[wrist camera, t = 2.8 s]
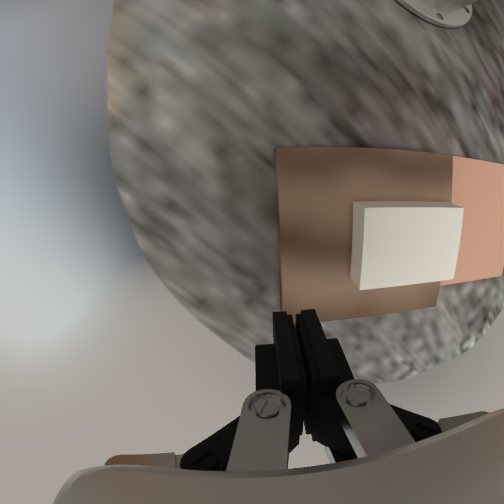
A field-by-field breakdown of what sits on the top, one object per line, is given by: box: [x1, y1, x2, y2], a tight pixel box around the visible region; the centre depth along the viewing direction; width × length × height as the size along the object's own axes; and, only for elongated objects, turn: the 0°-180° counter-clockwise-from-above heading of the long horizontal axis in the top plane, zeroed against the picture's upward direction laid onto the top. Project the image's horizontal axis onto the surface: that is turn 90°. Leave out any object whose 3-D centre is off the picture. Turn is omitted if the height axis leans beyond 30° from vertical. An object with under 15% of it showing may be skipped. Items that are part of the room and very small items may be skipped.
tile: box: [350, 201, 464, 290], centre depth 20 cm, size 6×9×2 cm, turn 94°
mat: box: [440, 156, 504, 286], centre depth 22 cm, size 13×12×1 cm
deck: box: [274, 147, 453, 324], centre depth 22 cm, size 14×15×2 cm
